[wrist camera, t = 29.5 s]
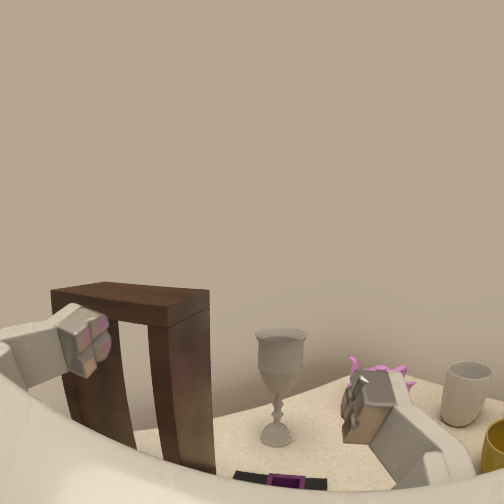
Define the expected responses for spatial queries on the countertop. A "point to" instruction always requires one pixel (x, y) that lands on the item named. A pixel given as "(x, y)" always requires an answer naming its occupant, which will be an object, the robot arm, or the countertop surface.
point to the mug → (465, 392)
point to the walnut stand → (162, 368)
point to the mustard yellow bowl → (493, 447)
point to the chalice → (279, 374)
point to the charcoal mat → (262, 479)
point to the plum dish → (286, 481)
